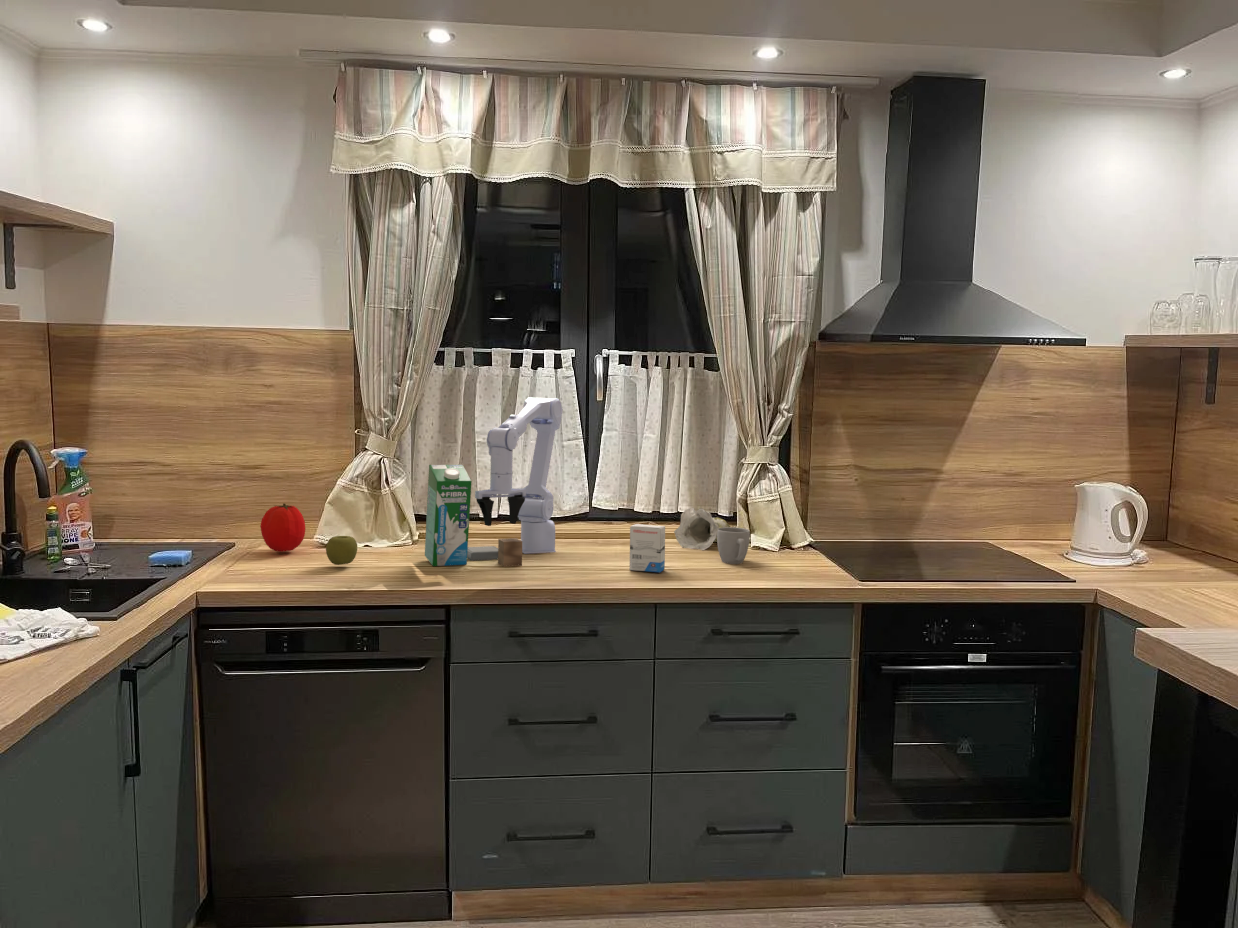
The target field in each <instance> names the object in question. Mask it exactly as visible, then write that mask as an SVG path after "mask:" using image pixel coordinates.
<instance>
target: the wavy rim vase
mask: <svg viewBox="0 0 1238 928" xmlns="http://www.w3.org/2000/svg"><path fill="white" fill-rule="evenodd" d="M724 527H731V526H730V524H729V523H728V522H727V521H726V520H725V519H723V518H721V517H712V514H711V513H710V512H709V511H706V510H705V509H704V508H700V507H699V509H697V510H695V508H694V507H691V508H687V509H685V510H684V511H683V512H682V513H681V515H680V524H679V526H678V528H676V529H675V530H674V531H673V533H674V535H675V538H676V542H677V543H678V544H679V546H680V547H681V548H684V549H691V550H701V551H705V550H707V549H708V548H710V547H711V546H712V545H713V542H717V530H718V528H724Z"/></svg>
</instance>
